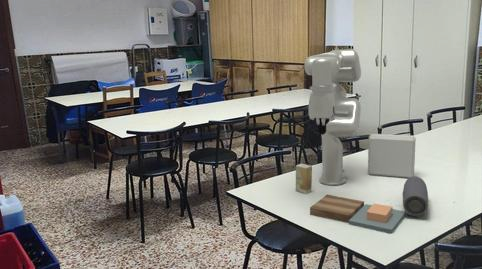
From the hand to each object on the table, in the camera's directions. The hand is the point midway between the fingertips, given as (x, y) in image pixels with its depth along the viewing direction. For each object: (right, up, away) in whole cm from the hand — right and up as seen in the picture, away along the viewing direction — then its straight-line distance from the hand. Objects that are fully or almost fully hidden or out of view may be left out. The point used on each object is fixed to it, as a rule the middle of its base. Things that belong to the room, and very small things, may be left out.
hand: (322, 133), depth 176 cm
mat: (+18, -32, -15) cm, 40 cm away
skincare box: (-5, -26, +18) cm, 32 cm away
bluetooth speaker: (+36, -30, -6) cm, 47 cm away
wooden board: (+5, -31, -6) cm, 32 cm away
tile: (+18, -30, -16) cm, 38 cm away
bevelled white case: (+40, -20, +34) cm, 57 cm away
